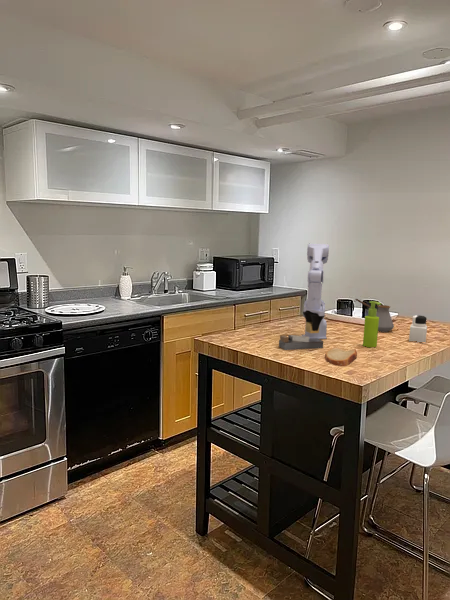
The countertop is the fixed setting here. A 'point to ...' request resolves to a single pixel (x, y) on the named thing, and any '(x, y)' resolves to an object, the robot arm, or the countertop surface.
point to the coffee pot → (382, 317)
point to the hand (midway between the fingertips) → (312, 329)
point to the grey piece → (299, 343)
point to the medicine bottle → (418, 329)
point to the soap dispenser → (371, 326)
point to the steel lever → (298, 338)
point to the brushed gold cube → (310, 328)
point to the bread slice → (340, 356)
